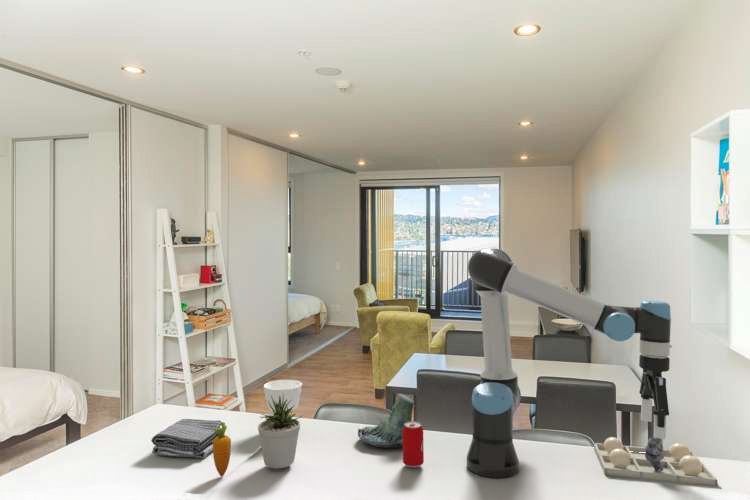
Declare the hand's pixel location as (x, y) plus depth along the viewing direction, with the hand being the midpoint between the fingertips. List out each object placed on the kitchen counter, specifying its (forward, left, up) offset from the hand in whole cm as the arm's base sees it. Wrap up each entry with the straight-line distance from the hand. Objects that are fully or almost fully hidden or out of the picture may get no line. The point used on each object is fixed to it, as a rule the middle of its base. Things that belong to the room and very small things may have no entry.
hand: (652, 429), depth 141 cm
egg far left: (-9, +9, -12) cm, 17 cm away
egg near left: (-9, 0, -12) cm, 15 cm away
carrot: (-119, -34, -13) cm, 124 cm away
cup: (-119, +5, -13) cm, 119 cm away
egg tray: (0, +4, -13) cm, 13 cm away
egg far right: (+10, +9, -12) cm, 18 cm away
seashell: (0, 0, -12) cm, 12 cm away
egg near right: (+10, 0, -12) cm, 15 cm away
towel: (-140, -19, -13) cm, 142 cm away
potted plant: (-107, -21, -13) cm, 109 cm away
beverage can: (-68, -12, -13) cm, 70 cm away
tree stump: (-81, +5, -15) cm, 83 cm away
